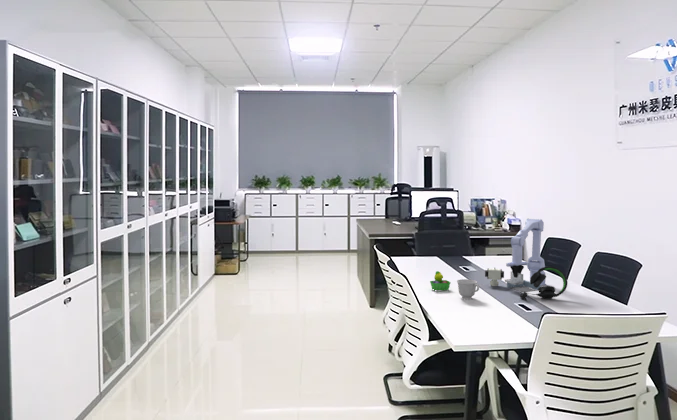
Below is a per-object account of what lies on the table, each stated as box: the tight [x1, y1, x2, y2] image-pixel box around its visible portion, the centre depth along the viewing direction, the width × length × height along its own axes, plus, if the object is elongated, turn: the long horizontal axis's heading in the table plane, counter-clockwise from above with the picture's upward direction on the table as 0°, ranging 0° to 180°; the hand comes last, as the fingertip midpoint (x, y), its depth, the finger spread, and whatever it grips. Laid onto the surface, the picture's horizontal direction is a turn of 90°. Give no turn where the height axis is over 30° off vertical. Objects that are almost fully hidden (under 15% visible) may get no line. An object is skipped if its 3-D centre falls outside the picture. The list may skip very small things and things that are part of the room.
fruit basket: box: [429, 270, 451, 291], centre depth 308 cm, size 11×9×11 cm
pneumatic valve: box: [484, 267, 505, 287], centre depth 318 cm, size 6×12×12 cm, turn 72°
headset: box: [519, 265, 568, 301], centre depth 284 cm, size 18×14×29 cm
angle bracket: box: [504, 270, 524, 285], centre depth 301 cm, size 10×6×6 cm, turn 19°
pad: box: [510, 286, 538, 293], centre depth 307 cm, size 11×12×1 cm
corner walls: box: [506, 279, 542, 291], centre depth 309 cm, size 14×15×4 cm
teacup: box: [456, 278, 480, 300], centre depth 285 cm, size 12×15×10 cm
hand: (516, 277), depth 301 cm, fingers closed on angle bracket
